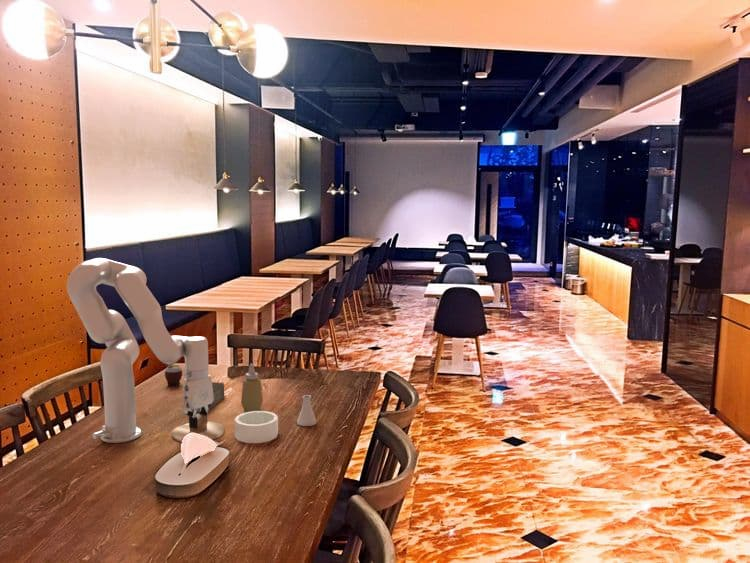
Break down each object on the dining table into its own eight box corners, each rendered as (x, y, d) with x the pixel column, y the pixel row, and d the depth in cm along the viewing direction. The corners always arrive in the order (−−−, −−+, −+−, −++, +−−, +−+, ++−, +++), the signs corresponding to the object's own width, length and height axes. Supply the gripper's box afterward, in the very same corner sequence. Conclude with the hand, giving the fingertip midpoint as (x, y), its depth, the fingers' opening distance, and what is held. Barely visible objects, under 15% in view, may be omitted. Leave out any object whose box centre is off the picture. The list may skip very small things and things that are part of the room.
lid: (198, 447, 200) (198, 429, 199) (161, 437, 208) (160, 419, 207) (234, 430, 214) (234, 413, 214) (198, 421, 222) (197, 404, 222)
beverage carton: (185, 412, 232) (184, 395, 231) (206, 396, 251) (206, 380, 250) (205, 413, 231) (205, 396, 230) (225, 397, 250) (225, 381, 249)
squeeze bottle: (265, 407, 238) (265, 362, 235) (259, 414, 230) (259, 367, 227) (245, 406, 238) (244, 361, 236) (238, 413, 230) (237, 366, 228)
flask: (313, 427, 218) (313, 400, 217) (293, 425, 219) (293, 398, 218) (319, 420, 225) (319, 394, 224) (300, 418, 226) (300, 392, 225)
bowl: (259, 446, 201) (259, 428, 200) (226, 437, 208) (226, 420, 207) (285, 432, 213) (285, 415, 212) (253, 424, 220) (253, 408, 219)
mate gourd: (186, 384, 265) (185, 350, 263) (171, 389, 258) (170, 354, 256) (174, 381, 269) (173, 347, 267) (159, 386, 262) (158, 351, 260)
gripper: (186, 381, 199) (188, 435, 202) (222, 369, 214) (223, 420, 216) (169, 377, 203) (171, 431, 205) (206, 366, 217) (207, 416, 220)
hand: (198, 425), depth 211 cm, fingers closed on lid, 4 cm apart
